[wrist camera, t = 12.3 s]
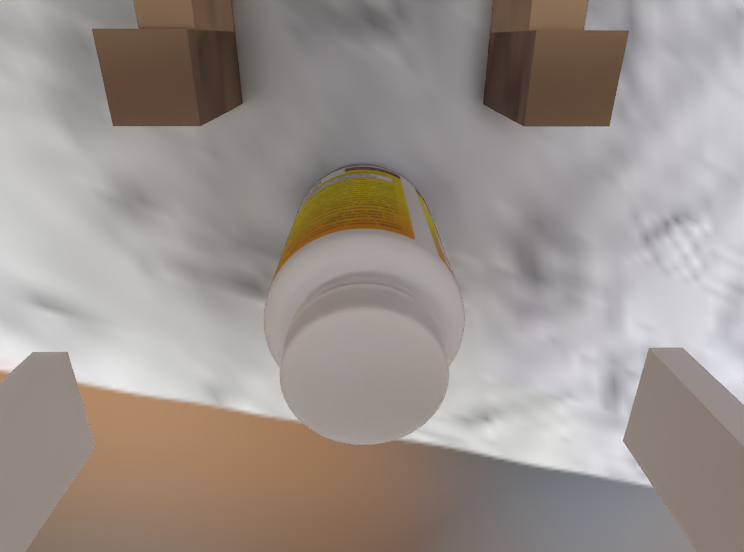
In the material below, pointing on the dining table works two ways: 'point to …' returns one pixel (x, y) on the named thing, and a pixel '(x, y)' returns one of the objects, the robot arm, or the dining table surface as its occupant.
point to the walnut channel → (222, 82)
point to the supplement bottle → (364, 309)
